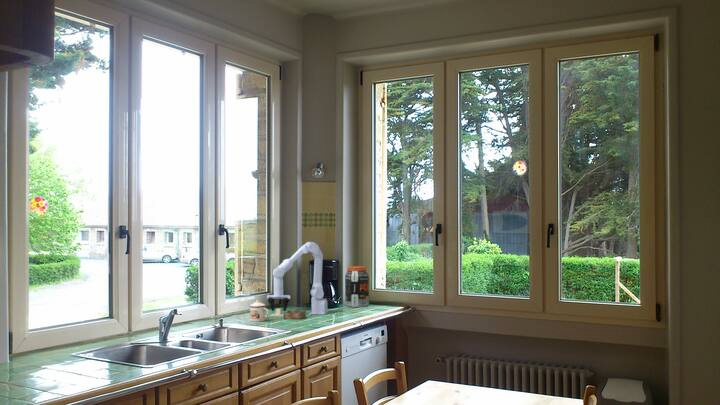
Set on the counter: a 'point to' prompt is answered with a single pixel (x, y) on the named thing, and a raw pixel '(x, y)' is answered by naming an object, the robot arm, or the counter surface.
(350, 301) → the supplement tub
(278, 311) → the lid
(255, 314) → the teacup with lid
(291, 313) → the walnut box
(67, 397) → the counter surface
